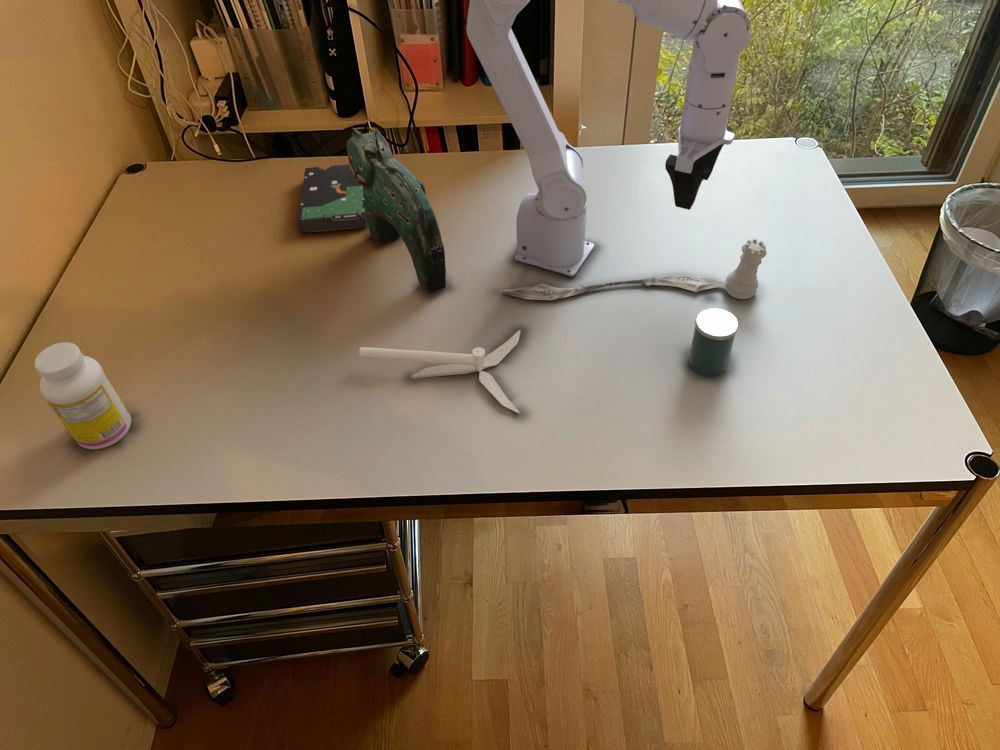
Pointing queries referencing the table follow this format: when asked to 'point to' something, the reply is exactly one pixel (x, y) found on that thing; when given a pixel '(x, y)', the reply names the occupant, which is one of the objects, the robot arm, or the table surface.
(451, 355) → the wind turbine
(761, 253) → the rook chess piece
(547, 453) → the table surface
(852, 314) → the table surface
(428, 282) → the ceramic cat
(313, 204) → the disk drive
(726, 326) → the tin can
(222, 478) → the table surface
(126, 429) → the supplement bottle
